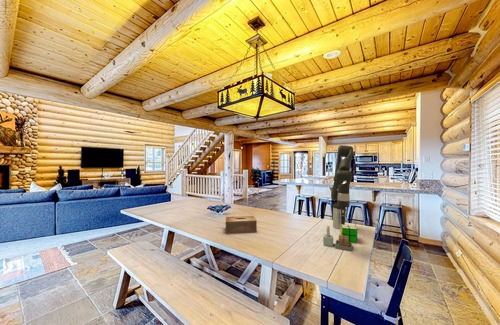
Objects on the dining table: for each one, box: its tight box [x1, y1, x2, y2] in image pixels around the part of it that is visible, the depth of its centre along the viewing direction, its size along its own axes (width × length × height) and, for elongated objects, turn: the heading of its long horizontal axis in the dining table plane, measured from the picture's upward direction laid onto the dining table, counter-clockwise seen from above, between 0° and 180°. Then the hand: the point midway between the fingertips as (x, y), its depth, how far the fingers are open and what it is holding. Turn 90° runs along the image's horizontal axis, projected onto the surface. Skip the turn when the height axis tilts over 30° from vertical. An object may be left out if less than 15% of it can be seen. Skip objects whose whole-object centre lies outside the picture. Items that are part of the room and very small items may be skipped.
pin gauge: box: [326, 225, 331, 237], centre depth 144 cm, size 2×2×12 cm
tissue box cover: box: [225, 215, 258, 234], centre depth 174 cm, size 26×14×10 cm, turn 97°
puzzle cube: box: [339, 223, 358, 244], centre depth 153 cm, size 10×10×10 cm
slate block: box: [322, 233, 334, 248], centre depth 144 cm, size 6×6×6 cm
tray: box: [334, 239, 353, 252], centre depth 140 cm, size 10×10×2 cm
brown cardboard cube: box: [338, 234, 348, 247], centre depth 140 cm, size 6×6×6 cm
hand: (343, 222), depth 140 cm, fingers open, 8 cm apart
